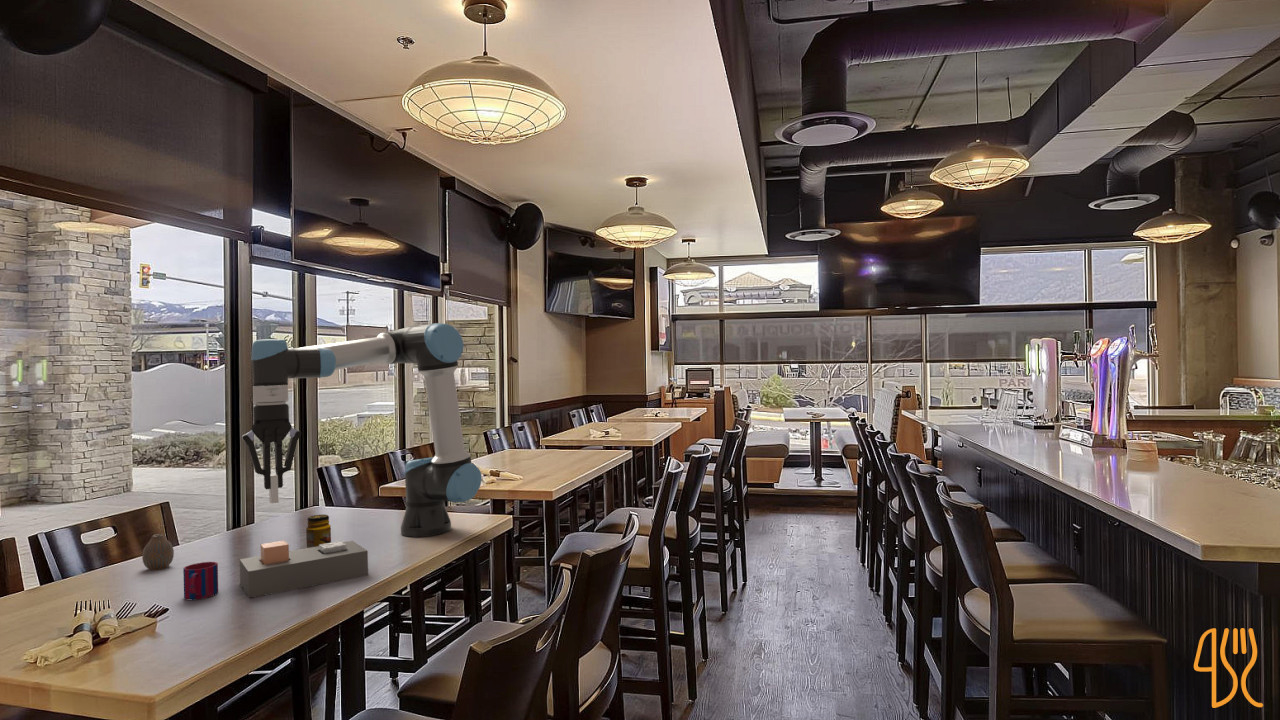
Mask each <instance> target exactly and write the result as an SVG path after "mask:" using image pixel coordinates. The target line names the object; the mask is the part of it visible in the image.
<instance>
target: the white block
mask: <svg viewBox="0 0 1280 720" xmlns="http://www.w3.org/2000/svg"><path fill="white" fill-rule="evenodd" d="M343 542H344V541H342V540H339V541H331V543H326V544H320V545H319V552H320V553H321V554H329V553H335V552H341V551H346V544H344V543H343Z"/></svg>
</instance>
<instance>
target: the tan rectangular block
mask: <svg viewBox="0 0 1280 720" xmlns="http://www.w3.org/2000/svg"><path fill="white" fill-rule="evenodd" d="M259 545H260V556H261V563H262V564H263V565H265V564H271V563H277V562H282V561H288V560H289V551H290V546H289V543H288V542H286V540H279V541H273V542H268V543H267V542H266V543H261V544H259Z"/></svg>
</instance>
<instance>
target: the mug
mask: <svg viewBox="0 0 1280 720" xmlns="http://www.w3.org/2000/svg"><path fill="white" fill-rule="evenodd" d="M218 564H219V563H218V562H215V561H202V562H198V563H197V562H196V563H192V564H189V565H186V566H184V567H182V568H183V570H182V572H183V599H184V600H186V599H192V600H191V601H195V600H194V599H197V600H202V599H201V598H204V599H208V598H211V597H213V595H214V596H216V595H217V594H218V593H219V568H218V567H219V565H218ZM215 594H216V595H215ZM210 596H211V597H210ZM207 597H208V598H207Z"/></svg>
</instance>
